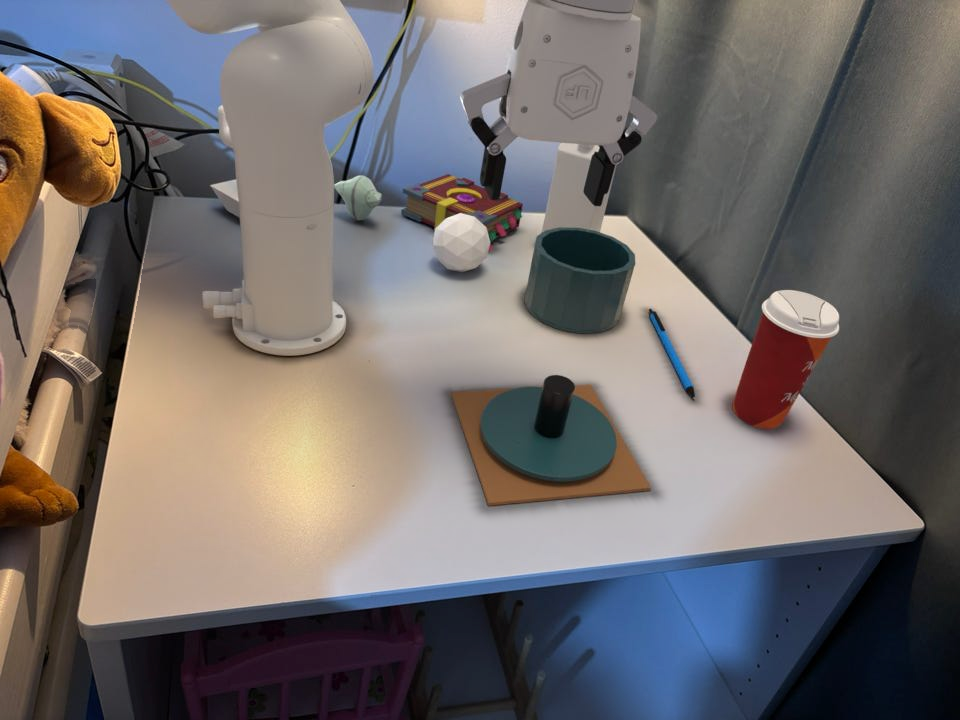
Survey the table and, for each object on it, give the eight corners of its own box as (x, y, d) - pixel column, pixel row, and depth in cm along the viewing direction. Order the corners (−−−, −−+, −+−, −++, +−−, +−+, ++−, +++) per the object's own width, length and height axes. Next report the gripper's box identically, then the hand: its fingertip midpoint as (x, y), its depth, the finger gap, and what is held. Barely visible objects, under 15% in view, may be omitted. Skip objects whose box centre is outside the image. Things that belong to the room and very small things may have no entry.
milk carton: (555, 230, 114) (580, 110, 103) (597, 244, 112) (627, 122, 101) (538, 246, 109) (563, 120, 98) (582, 260, 106) (612, 133, 96)
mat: (488, 506, 64) (488, 502, 63) (450, 394, 76) (451, 391, 76) (650, 490, 68) (651, 487, 68) (589, 387, 80) (590, 384, 80)
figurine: (246, 229, 101) (239, 122, 92) (207, 206, 105) (197, 102, 97) (288, 217, 106) (286, 114, 97) (249, 195, 110) (244, 95, 102)
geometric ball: (467, 290, 100) (487, 266, 93) (416, 263, 99) (433, 237, 92) (486, 248, 103) (506, 222, 96) (437, 221, 102) (454, 192, 95)
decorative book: (445, 198, 119) (448, 169, 116) (526, 231, 112) (531, 201, 109) (400, 216, 111) (402, 185, 108) (484, 253, 104) (489, 221, 101)
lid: (499, 492, 65) (510, 436, 61) (465, 398, 75) (473, 345, 71) (636, 480, 68) (654, 426, 64) (585, 392, 79) (599, 341, 75)
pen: (652, 312, 96) (654, 305, 96) (697, 401, 81) (700, 393, 80) (646, 312, 96) (648, 305, 96) (689, 401, 81) (692, 393, 80)
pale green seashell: (329, 216, 108) (329, 173, 104) (345, 208, 111) (345, 165, 107) (374, 231, 105) (376, 188, 102) (389, 222, 109) (392, 180, 105)
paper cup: (797, 442, 77) (852, 333, 69) (725, 426, 78) (771, 316, 70) (786, 399, 83) (835, 295, 75) (719, 385, 84) (761, 280, 76)
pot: (541, 334, 88) (554, 273, 83) (513, 283, 98) (523, 226, 93) (634, 332, 91) (651, 273, 87) (598, 283, 101) (612, 227, 96)
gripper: (490, -18, 50) (456, 210, 60) (709, 13, 54) (645, 220, 64) (468, -36, 56) (441, 174, 65) (668, -7, 60) (614, 186, 70)
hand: (542, 197), depth 65 cm, fingers open, 9 cm apart
